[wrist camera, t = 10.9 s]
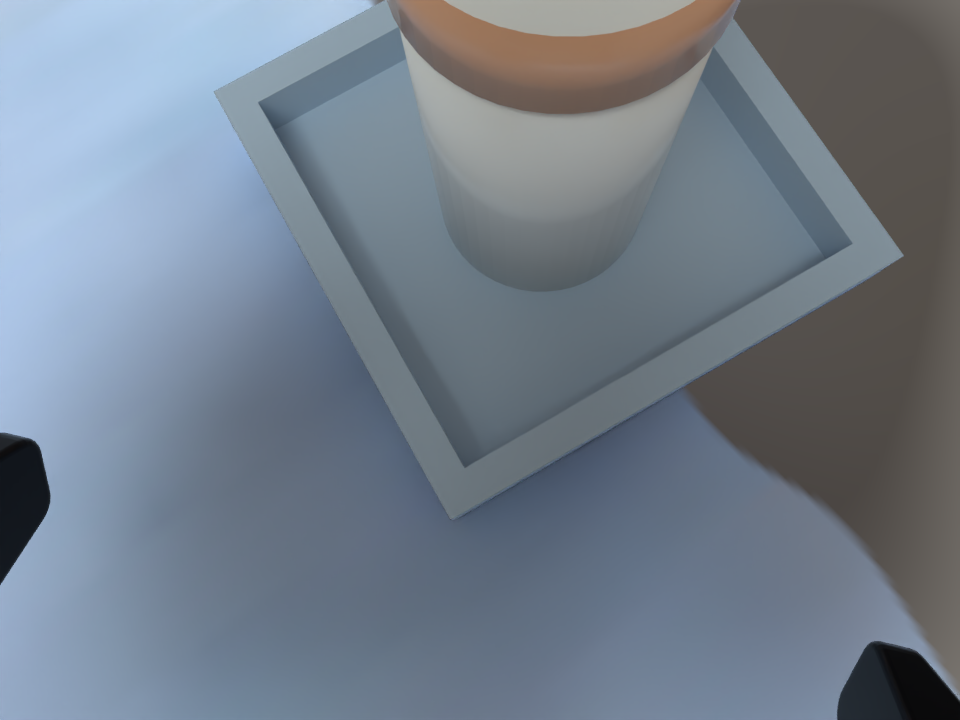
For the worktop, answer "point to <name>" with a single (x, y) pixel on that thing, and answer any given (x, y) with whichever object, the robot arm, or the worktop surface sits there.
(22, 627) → the worktop surface
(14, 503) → the robot arm
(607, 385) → the tray
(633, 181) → the copper banded cylinder
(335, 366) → the worktop surface
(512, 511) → the worktop surface
